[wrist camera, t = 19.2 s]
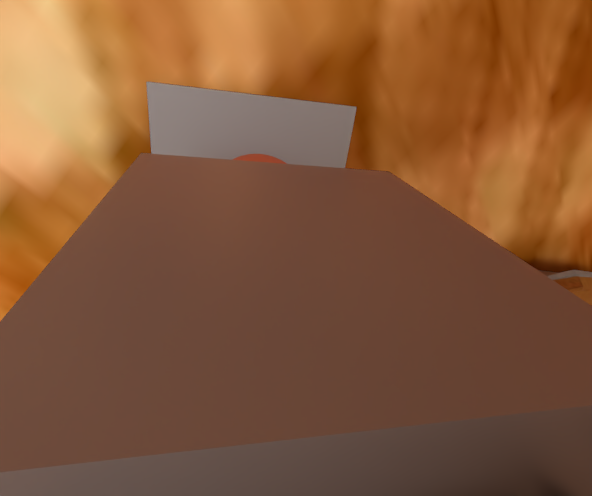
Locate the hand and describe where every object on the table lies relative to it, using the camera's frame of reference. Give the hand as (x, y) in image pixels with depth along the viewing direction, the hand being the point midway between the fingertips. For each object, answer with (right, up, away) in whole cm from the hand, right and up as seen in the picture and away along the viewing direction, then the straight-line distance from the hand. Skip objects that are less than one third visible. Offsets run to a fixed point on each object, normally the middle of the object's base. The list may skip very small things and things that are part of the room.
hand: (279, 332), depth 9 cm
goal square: (-2, +5, +9) cm, 11 cm away
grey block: (-1, +2, +3) cm, 3 cm away
